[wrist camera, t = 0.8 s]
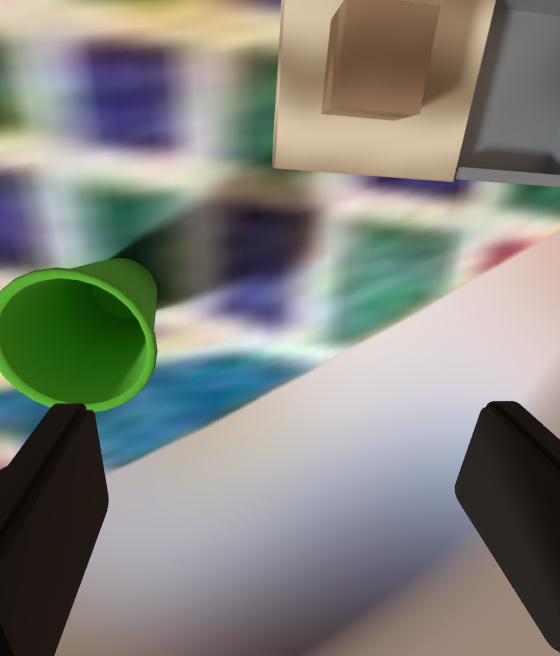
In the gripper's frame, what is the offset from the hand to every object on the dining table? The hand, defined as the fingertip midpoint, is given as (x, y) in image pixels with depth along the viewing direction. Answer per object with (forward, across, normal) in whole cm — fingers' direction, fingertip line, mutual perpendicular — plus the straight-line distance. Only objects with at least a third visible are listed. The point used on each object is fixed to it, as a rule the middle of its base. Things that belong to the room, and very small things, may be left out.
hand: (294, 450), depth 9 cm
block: (+21, -6, -12) cm, 25 cm away
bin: (+24, -19, -12) cm, 33 cm away
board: (+24, -8, -12) cm, 28 cm away
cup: (+24, +10, +4) cm, 27 cm away
